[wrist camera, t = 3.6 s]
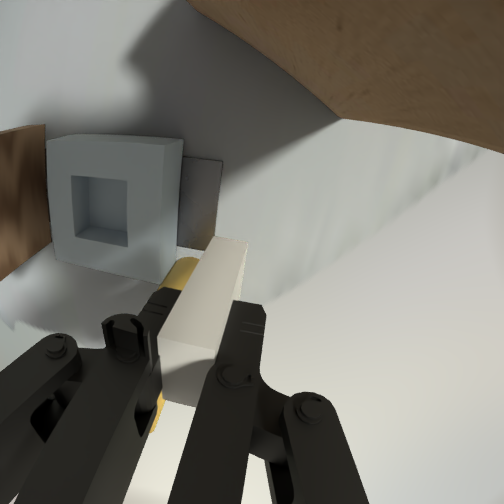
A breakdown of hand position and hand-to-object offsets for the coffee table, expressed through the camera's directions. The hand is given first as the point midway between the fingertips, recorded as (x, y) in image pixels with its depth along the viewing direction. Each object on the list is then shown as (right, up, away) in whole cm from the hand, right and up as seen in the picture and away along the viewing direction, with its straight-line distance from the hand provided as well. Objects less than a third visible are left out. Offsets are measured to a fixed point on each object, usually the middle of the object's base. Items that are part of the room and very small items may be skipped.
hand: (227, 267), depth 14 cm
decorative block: (+5, +18, +5) cm, 19 cm away
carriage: (-10, +6, +12) cm, 17 cm away
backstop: (-22, +8, +13) cm, 26 cm away
